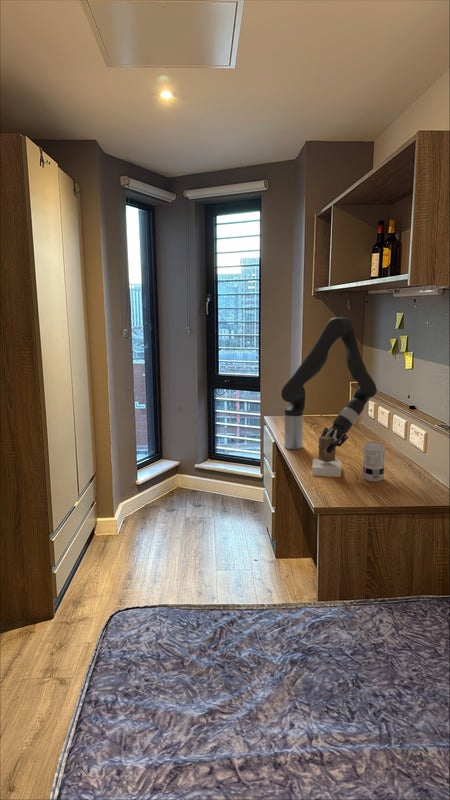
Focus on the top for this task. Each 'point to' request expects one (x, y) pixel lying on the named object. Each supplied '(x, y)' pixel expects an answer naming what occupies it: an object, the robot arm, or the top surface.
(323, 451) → the walnut block
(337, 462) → the base block
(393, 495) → the top surface
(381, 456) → the supplement can
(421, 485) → the top surface
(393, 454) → the top surface
